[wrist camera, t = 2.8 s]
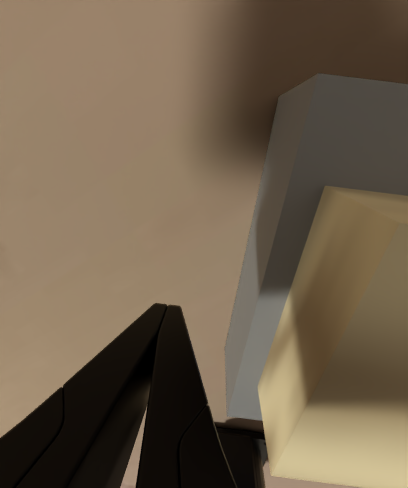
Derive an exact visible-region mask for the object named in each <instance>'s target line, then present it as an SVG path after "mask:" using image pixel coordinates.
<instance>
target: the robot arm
mask: <svg viewBox="0 0 408 488" xmlns="http://www.w3.org/2000/svg"><path fill="white" fill-rule="evenodd" d="M147 404H148V405H147ZM146 407H147V412H146V419H145V426H144V433H143V440H142V447H141V454H140V461H139V468H138V475H137V482H136V488H265V480H264V473H263V465H264V463H265V461H266V459H267V456H268V453H267V446H266V439H265V434H262V433H254V432H246V431H238V430H230V429H222V428H216V427H215V424H214V421H213V417H212V414H211V410H210V407H209V406H208V400H207V397H206V393H205V390H204V386H203V383H202V379H201V376H200V372H199V369H198V365H197V362H196V358H195V355H194V351H193V348H192V344H191V341H190V337H189V333H188V330H187V326H186V323H185V319H184V316H183V312H182V309H181V307H180V306H176V305H168V306H167V305H166V304H160V303H155V304H153V305H152V306H151V307H150V308H149V309H148V310H147V311H146V312H144V313H143V314H142V315H141V316H140V317H139V318H138V319H137V320H135V321H134V322H133V323H132V324H131V325H130V326H129V327H128V328H126V329H125V330H124V331H123V332H122V333H121V334H120V335H119V336H117V337H116V338H115V339H114V340H113V341H112V342H111V343H110V344H109V345H107V346H106V347H105V348H104V349H103V350H102V351H101V352H100V353H98V354H97V355H96V356H95V357H94V358H93V359H92V360H91V361H89V362H88V363H87V364H86V365H85V366H84V367H83V368H82V369H80V370H79V371H78V372H77V373H76V374H75V375H74V376H73V377H71V378H70V379H69V380H68V381H67V382H66V383H65V384H64V385H63V388H62V387H60V388H59V389H58V390H57V391H56V392H54V393H53V394H52V395H51V396H50V397H49V398H48V399H47V400H45V401H44V402H43V403H42V404H41V405H40V406H38V407H37V408H36V409H35V410H34V411H33V412H31V413H30V414H29V415H28V416H27V417H26V418H24V419H23V420H22V421H21V422H20V423H19V424H17V425H16V426H15V427H13V428H12V429H11V430H10V431H8V432H7V433H6V434H5V435H3V436H2V437H1V438H0V488H120V486H121V483H122V480H123V477H124V474H125V471H126V468H127V465H128V462H129V459H130V456H131V453H132V450H133V447H134V444H135V441H136V438H137V434H138V431H139V428H140V425H141V422H142V419H143V416H144V413H145V410H146Z"/></svg>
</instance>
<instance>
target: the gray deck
mask: <svg viewBox="0 0 408 488" xmlns="http://www.w3.org/2000/svg"><path fill="white" fill-rule="evenodd" d="M325 186H332V187H340V188H348V189H356V190H365V191H373V192H381V193H389V194H397V195H405V196H408V84H403V83H395V82H387V81H379V80H371V79H362V78H354V77H346V76H338V75H330V74H322V73H318V74H316V75H314V76H313V77H311V78H309V79H308V80H306V81H304V82H302V83H301V84H299V85H297V86H296V87H294V88H292V89H291V90H289V91H287V92H286V93H284V94H282V95H280V96H279V97H278V102H277V107H276V112H275V116H274V121H273V126H272V130H271V135H270V140H269V144H268V149H267V154H266V158H265V163H264V168H263V172H262V177H261V182H260V186H259V191H258V196H257V200H256V205H255V210H254V215H253V219H252V224H251V229H250V233H249V238H248V243H247V247H246V252H245V257H244V261H243V266H242V271H241V275H240V280H239V285H238V289H237V294H236V299H235V303H234V308H233V313H232V318H231V322H230V327H229V332H228V336H227V341H226V346H225V371H226V406H227V416H229V417H237V418H245V419H253V420H261V421H263V420H262V413H261V407H260V400H259V394H258V384H259V381H260V378H261V375H262V372H263V369H264V366H265V363H266V360H267V357H268V354H269V351H270V348H271V345H272V342H273V339H274V336H275V333H276V330H277V327H278V324H279V321H280V318H281V315H282V312H283V309H284V306H285V303H286V300H287V297H288V294H289V291H290V289H291V286H292V283H293V280H294V277H295V274H296V271H297V268H298V265H299V262H300V259H301V256H302V253H303V250H304V247H305V244H306V241H307V238H308V235H309V232H310V229H311V226H312V223H313V220H314V217H315V214H316V211H317V208H318V205H319V202H320V199H321V196H322V193H323V190H324V187H325Z"/></svg>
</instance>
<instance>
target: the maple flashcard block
mask: <svg viewBox="0 0 408 488" xmlns="http://www.w3.org/2000/svg"><path fill="white" fill-rule="evenodd" d="M258 394H259V400H260V407H261V413H262V420H263V426H264V433H265V439H266V446H267V453H268V459H269V466H270V472H271V476H276V477H284V478H292V479H300V480H308V481H316V482H323V483H331V484H339V485H347V486H355V487H363V488H408V196H405V195H397V194H389V193H381V192H373V191H365V190H356V189H348V188H340V187H332V186H325V187H324V190H323V193H322V196H321V199H320V202H319V205H318V208H317V211H316V214H315V217H314V220H313V223H312V226H311V229H310V232H309V235H308V238H307V241H306V244H305V247H304V250H303V253H302V256H301V259H300V262H299V265H298V268H297V271H296V274H295V277H294V280H293V283H292V286H291V289H290V291H289V294H288V297H287V300H286V303H285V306H284V309H283V312H282V315H281V318H280V321H279V324H278V327H277V330H276V333H275V336H274V339H273V342H272V345H271V348H270V351H269V354H268V357H267V360H266V363H265V366H264V369H263V372H262V375H261V378H260V381H259V384H258Z"/></svg>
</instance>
